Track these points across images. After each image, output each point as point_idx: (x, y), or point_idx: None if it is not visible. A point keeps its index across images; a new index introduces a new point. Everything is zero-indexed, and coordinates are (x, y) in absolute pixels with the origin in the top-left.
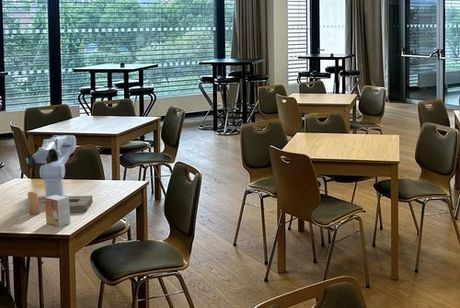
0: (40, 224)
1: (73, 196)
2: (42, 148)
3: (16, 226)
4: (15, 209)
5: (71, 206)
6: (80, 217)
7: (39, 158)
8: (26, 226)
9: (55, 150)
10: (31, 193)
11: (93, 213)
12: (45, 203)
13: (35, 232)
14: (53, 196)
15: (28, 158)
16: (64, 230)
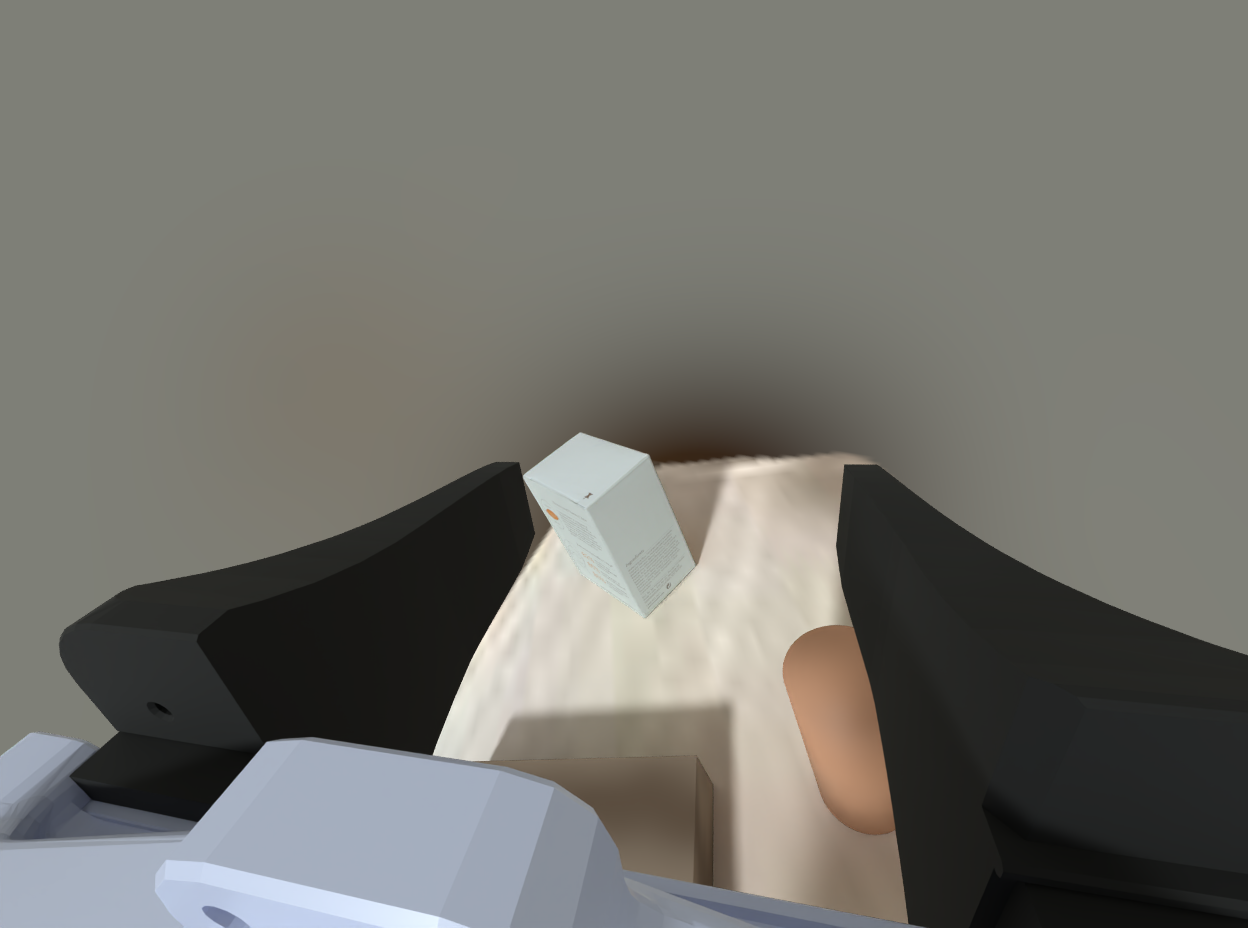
0: (725, 555)
1: None
2: (318, 778)
3: None
4: None
5: (545, 763)
6: (527, 668)
7: (737, 914)
8: (790, 524)
9: (82, 681)
10: (836, 639)
11: (445, 748)
12: (658, 481)
13: (716, 470)
14: (599, 474)
15: (1050, 586)
16: None
